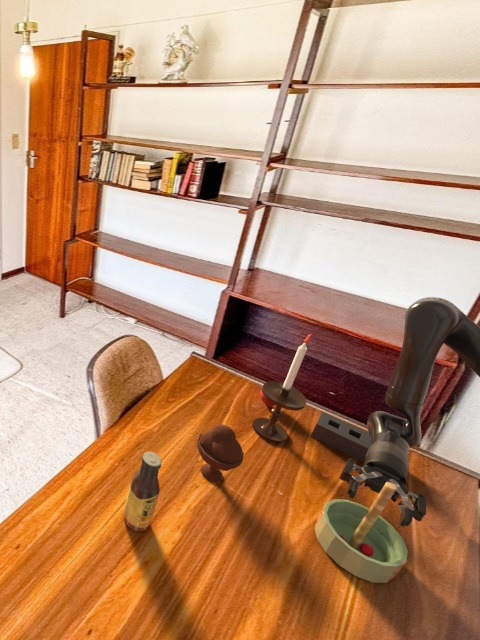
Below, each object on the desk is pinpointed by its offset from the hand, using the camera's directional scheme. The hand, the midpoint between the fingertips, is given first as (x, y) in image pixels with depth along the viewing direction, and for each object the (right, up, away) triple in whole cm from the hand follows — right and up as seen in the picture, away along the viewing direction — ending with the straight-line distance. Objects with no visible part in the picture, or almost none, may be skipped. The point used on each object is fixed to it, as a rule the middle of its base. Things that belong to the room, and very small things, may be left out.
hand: (377, 509), depth 84 cm
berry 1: (-5, -10, +4) cm, 12 cm away
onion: (+5, +7, +46) cm, 47 cm away
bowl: (-1, -12, +5) cm, 13 cm away
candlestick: (-1, +3, +36) cm, 36 cm away
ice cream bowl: (-25, -3, +21) cm, 33 cm away
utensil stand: (+19, 0, +31) cm, 37 cm away
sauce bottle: (-49, -8, +9) cm, 50 cm away
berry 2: (0, -11, +3) cm, 11 cm away
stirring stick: (-1, -11, +5) cm, 12 cm away
